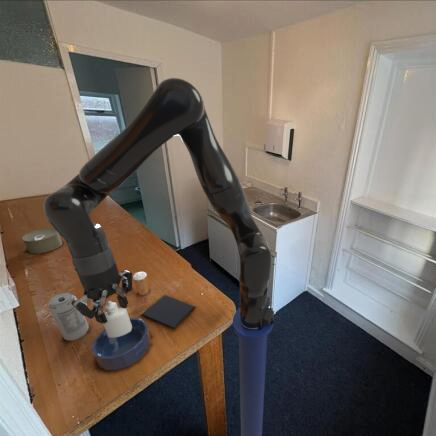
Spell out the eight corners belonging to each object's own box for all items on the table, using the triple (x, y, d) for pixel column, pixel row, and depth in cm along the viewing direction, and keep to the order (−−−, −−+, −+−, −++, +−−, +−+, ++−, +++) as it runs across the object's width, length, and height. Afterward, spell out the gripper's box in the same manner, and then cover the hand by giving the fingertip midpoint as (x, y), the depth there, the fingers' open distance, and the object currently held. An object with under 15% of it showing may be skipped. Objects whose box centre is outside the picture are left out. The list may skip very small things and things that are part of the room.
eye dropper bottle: (116, 325, 69) (105, 295, 64) (135, 326, 69) (125, 296, 64) (105, 338, 65) (92, 307, 60) (125, 339, 66) (114, 308, 60)
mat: (194, 307, 86) (194, 306, 86) (174, 329, 78) (173, 327, 78) (165, 296, 90) (164, 295, 90) (142, 315, 82) (141, 313, 81)
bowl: (160, 338, 74) (157, 326, 72) (120, 378, 63) (115, 366, 61) (129, 324, 78) (125, 312, 76) (86, 360, 67) (80, 347, 64)
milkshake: (132, 296, 89) (126, 275, 85) (143, 287, 94) (138, 267, 89) (141, 299, 88) (136, 278, 84) (153, 289, 93) (148, 269, 89)
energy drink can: (85, 322, 77) (70, 288, 71) (92, 332, 74) (77, 297, 68) (61, 334, 73) (43, 299, 66) (68, 345, 70) (50, 309, 63)
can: (65, 238, 120) (60, 226, 117) (60, 250, 111) (55, 237, 108) (32, 243, 114) (26, 231, 111) (24, 256, 105) (17, 243, 102)
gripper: (73, 287, 50) (96, 340, 57) (134, 253, 62) (147, 300, 69) (50, 278, 52) (75, 330, 59) (113, 246, 64) (128, 292, 71)
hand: (114, 313), depth 64 cm, fingers closed on eye dropper bottle, 5 cm apart
